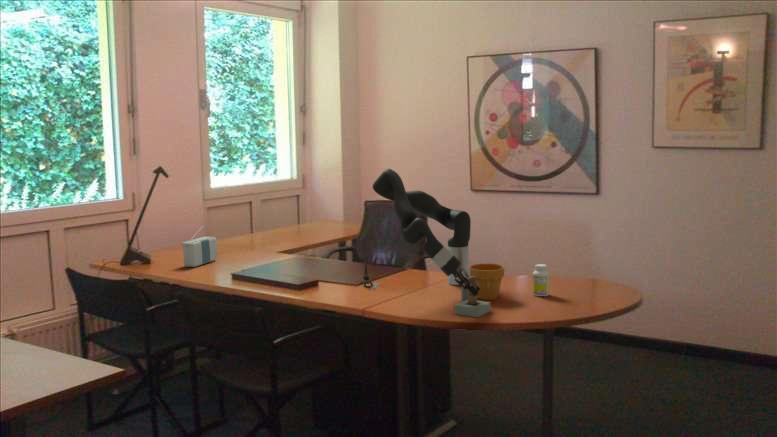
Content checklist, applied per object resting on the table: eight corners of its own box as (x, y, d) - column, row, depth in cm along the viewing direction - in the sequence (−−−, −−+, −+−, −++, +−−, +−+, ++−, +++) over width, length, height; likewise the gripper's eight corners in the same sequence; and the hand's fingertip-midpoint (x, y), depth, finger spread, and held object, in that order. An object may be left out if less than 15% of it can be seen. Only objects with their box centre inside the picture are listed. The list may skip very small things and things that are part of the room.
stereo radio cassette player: (194, 268, 386) (192, 230, 384) (181, 267, 390) (179, 229, 387) (218, 260, 406) (216, 224, 403) (205, 259, 409) (203, 223, 406)
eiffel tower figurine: (373, 291, 329) (372, 261, 327) (351, 290, 332) (350, 261, 330) (382, 283, 343) (381, 255, 341) (361, 283, 346) (360, 254, 344)
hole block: (467, 307, 295) (467, 299, 295) (490, 311, 289) (490, 302, 289) (455, 313, 287) (455, 305, 286) (478, 317, 281) (478, 308, 281)
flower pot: (503, 301, 303) (503, 270, 301) (468, 301, 306) (468, 270, 304) (504, 293, 317) (504, 263, 315) (471, 293, 319) (470, 263, 317)
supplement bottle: (538, 292, 317) (538, 262, 315) (552, 294, 312) (552, 264, 311) (529, 295, 313) (529, 265, 311) (543, 298, 308) (543, 267, 306)
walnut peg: (470, 311, 290) (470, 275, 289) (478, 312, 289) (478, 276, 287) (466, 312, 288) (466, 277, 286) (474, 313, 286) (474, 278, 284)
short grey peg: (464, 303, 302) (463, 286, 301) (471, 304, 300) (470, 287, 299) (460, 305, 300) (460, 288, 299) (467, 306, 298) (467, 289, 297)
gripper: (442, 264, 295) (472, 294, 295) (436, 271, 282) (468, 303, 281) (455, 251, 294) (486, 281, 293) (450, 258, 280) (482, 290, 279)
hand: (477, 292), depth 287 cm, fingers open, 4 cm apart
